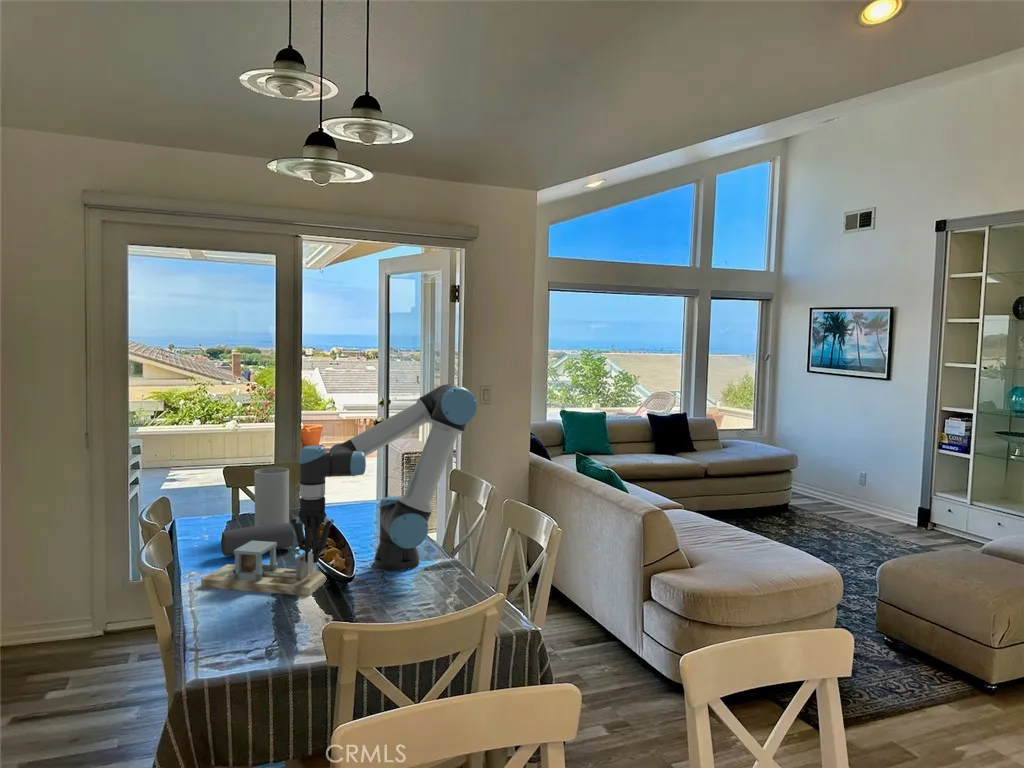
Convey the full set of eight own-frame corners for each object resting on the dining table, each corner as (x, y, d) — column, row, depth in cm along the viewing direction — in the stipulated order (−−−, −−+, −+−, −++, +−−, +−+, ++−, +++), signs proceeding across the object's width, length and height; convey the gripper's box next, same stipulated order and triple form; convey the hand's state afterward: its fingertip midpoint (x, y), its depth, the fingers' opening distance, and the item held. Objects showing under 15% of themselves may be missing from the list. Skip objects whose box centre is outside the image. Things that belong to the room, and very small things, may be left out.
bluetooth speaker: (287, 545, 248) (287, 518, 247) (294, 552, 240) (294, 524, 239) (220, 555, 235) (220, 527, 234) (225, 562, 227) (225, 533, 227)
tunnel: (277, 570, 214) (277, 542, 213) (260, 581, 204) (260, 552, 203) (252, 568, 215) (251, 540, 215) (233, 579, 205) (233, 550, 204)
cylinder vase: (295, 533, 263) (295, 470, 261) (268, 540, 253) (268, 475, 251) (274, 528, 270) (274, 466, 268) (247, 535, 259) (247, 471, 258)
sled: (309, 574, 210) (309, 552, 210) (299, 581, 204) (299, 558, 203) (239, 568, 214) (239, 547, 213) (228, 575, 207) (227, 553, 207)
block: (258, 568, 212) (258, 551, 212) (250, 574, 207) (250, 556, 207) (244, 567, 213) (244, 550, 212) (235, 572, 208) (235, 555, 207)
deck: (329, 579, 213) (329, 571, 213) (309, 595, 200) (309, 587, 199) (227, 571, 219) (227, 563, 218) (201, 587, 205) (201, 578, 205)
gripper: (337, 495, 208) (337, 570, 209) (298, 492, 210) (297, 567, 211) (327, 500, 200) (327, 578, 202) (286, 498, 202) (286, 575, 204)
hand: (312, 572), depth 206 cm, fingers closed
